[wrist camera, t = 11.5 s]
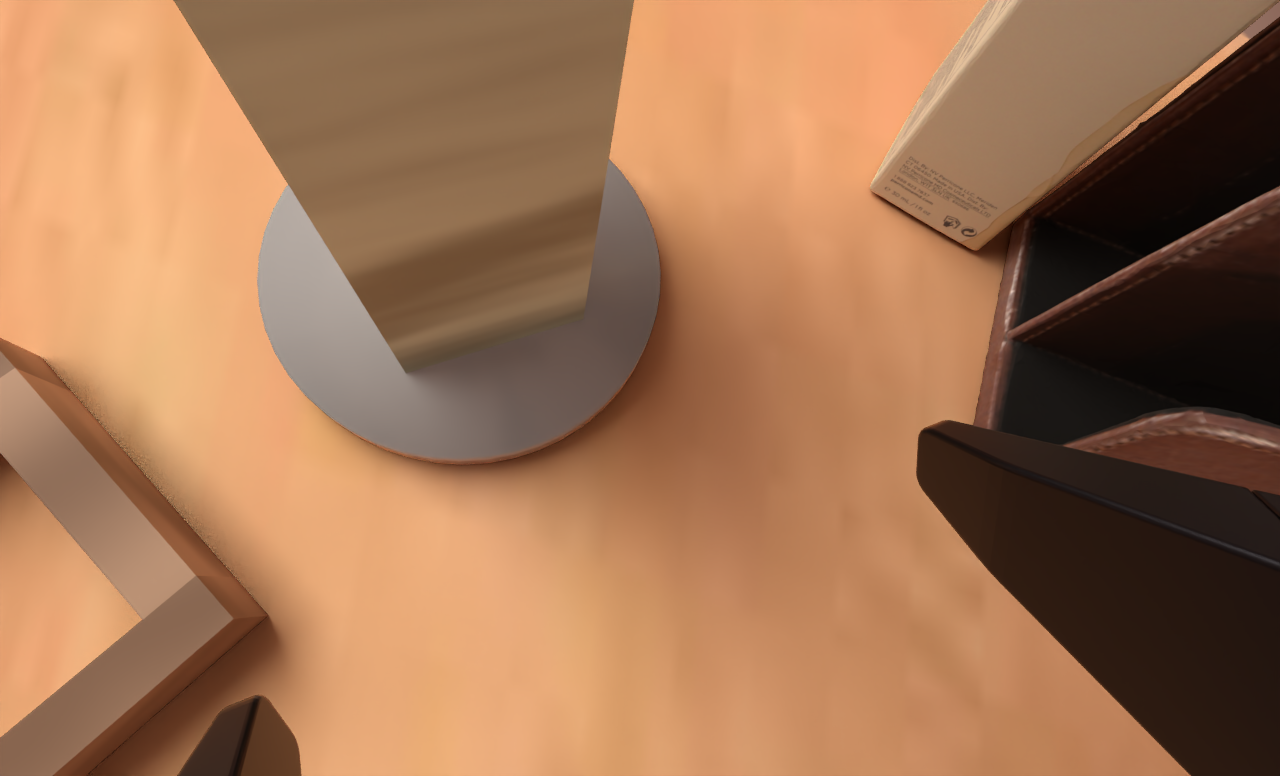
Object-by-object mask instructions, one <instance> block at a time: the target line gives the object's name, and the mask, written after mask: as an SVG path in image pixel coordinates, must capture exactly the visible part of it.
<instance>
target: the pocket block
mask: <svg viewBox="0 0 1280 776" xmlns="http://www.w3.org/2000/svg"><path fill="white" fill-rule="evenodd" d="M0 453H1V454H2V455H3V456H4V458H5V459H6V460H7V461H8V462H9V464H10V465H11V466H12V467H13V468H14V469H15V471H16V472H17V473H18V474H19V475H20V476H21V478H22V479H23V480H24V481H25V482H26V483H27V485H28V486H29V487H30V488H31V489H32V490H33V492H34V493H35V494H36V495H37V496H38V498H39V499H40V500H41V501H42V502H43V503H44V505H45V506H46V507H47V508H48V509H49V510H50V512H51V513H52V514H53V515H54V516H55V517H56V519H57V520H58V521H59V522H60V523H61V525H62V526H63V527H64V528H65V529H66V530H67V532H68V533H69V534H70V535H71V536H72V537H73V539H74V540H75V541H76V542H77V543H78V544H79V546H80V547H81V548H82V549H83V550H84V552H85V553H86V554H87V555H88V556H89V557H90V559H91V560H92V561H93V562H94V563H95V564H96V566H97V567H98V568H99V569H100V570H101V571H102V573H103V574H104V575H105V576H106V577H107V579H108V580H109V581H110V582H111V583H112V584H113V586H114V587H115V588H116V589H117V590H118V591H119V593H120V594H121V595H122V596H123V597H124V598H125V600H126V601H127V602H128V603H129V604H130V605H131V607H132V608H133V609H134V610H135V611H136V613H137V614H138V615H139V616H140V617H141V618H142V621H141V622H139V623H138V624H137V625H136V626H135V627H133V628H132V629H131V630H130V631H129V632H127V633H126V634H125V635H124V636H123V637H121V638H120V639H119V640H118V641H116V642H115V643H114V644H113V645H112V646H110V647H109V648H108V649H107V650H106V651H104V652H103V653H102V654H101V655H100V656H98V657H97V658H96V659H95V660H94V661H92V662H91V663H90V664H89V665H88V666H86V667H85V668H84V669H83V670H81V671H80V672H79V673H78V674H77V675H75V676H74V677H73V678H72V679H71V680H69V681H68V682H67V683H66V684H65V685H63V686H62V687H61V688H60V689H59V690H57V691H56V692H55V693H54V694H53V695H51V696H50V697H49V698H48V699H47V700H45V701H44V702H43V703H42V704H40V705H39V706H38V707H37V708H36V709H34V710H33V711H32V712H31V713H30V714H28V715H27V716H26V717H25V718H24V719H22V720H21V721H20V722H19V723H18V724H16V725H15V726H14V727H13V728H12V729H10V730H9V731H8V732H7V733H5V734H4V735H3V736H2V737H1V738H0V776H86V775H87V774H88V773H90V772H91V771H92V770H93V769H94V768H95V767H96V766H97V765H99V764H100V763H101V762H102V761H103V760H104V759H105V758H107V757H108V756H109V755H110V754H111V753H112V752H113V751H115V750H116V749H117V748H118V747H119V746H120V745H121V744H123V743H124V742H125V741H126V740H127V739H128V738H129V737H130V736H132V735H133V734H134V733H135V732H136V731H137V730H138V729H140V728H141V727H142V726H143V725H144V724H145V723H146V722H148V721H149V720H150V719H151V718H152V717H153V716H154V715H156V714H157V713H158V712H159V711H160V710H161V709H162V708H163V707H165V706H166V705H167V704H168V703H169V702H170V701H171V700H173V699H174V698H175V697H176V696H177V695H178V694H179V693H181V692H182V691H183V690H184V689H185V688H186V687H187V686H188V685H190V684H191V683H192V682H193V681H194V680H195V679H196V678H198V677H199V676H200V675H201V674H202V673H203V672H204V671H206V670H207V669H208V668H209V667H210V666H211V665H212V664H214V663H215V662H216V661H217V660H218V659H219V658H220V657H221V656H223V655H224V654H225V653H226V652H227V651H228V650H229V649H231V648H232V647H233V646H234V645H235V644H236V643H237V642H239V641H240V640H241V639H242V638H243V637H244V636H245V635H247V634H248V633H249V632H250V631H251V630H252V629H253V628H254V627H256V626H257V625H258V624H259V623H260V622H261V621H262V620H264V619H265V618H266V617H267V616H268V615H267V614H266V613H265V611H264V610H263V609H262V608H261V607H260V606H259V605H258V603H257V602H256V601H255V600H254V599H253V598H252V597H251V596H250V594H249V593H248V592H247V591H246V590H245V589H244V588H243V586H242V585H241V584H240V583H239V582H238V581H237V580H236V578H235V577H234V576H233V575H232V574H231V573H230V572H229V570H228V569H227V568H226V567H225V566H224V565H223V564H222V563H221V561H220V560H219V559H218V558H217V557H216V556H215V555H214V553H213V552H212V551H211V550H210V549H209V548H208V547H207V545H206V544H205V543H204V542H203V541H202V540H201V539H200V537H199V536H198V535H197V534H196V533H195V532H194V531H193V530H192V528H191V527H190V526H189V525H188V524H187V523H186V522H185V520H184V519H183V518H182V517H181V516H180V515H179V514H178V512H177V511H176V510H175V509H174V508H173V507H172V506H171V505H170V503H169V502H168V501H167V500H166V499H165V498H164V497H163V495H162V494H161V493H160V492H159V491H158V490H157V489H156V487H155V486H154V485H153V484H152V483H151V482H150V481H149V479H148V478H147V477H146V476H145V475H144V474H143V473H142V472H141V470H140V469H139V468H138V467H137V466H136V465H135V464H134V462H133V461H132V460H131V459H130V458H129V457H128V456H127V454H126V453H125V452H124V451H123V450H122V449H121V448H120V447H119V445H118V444H117V443H116V442H115V441H114V440H113V439H112V437H111V436H110V435H109V434H108V433H107V432H106V431H105V429H104V428H103V427H102V426H101V425H100V424H99V423H98V421H97V420H96V419H95V418H94V417H93V416H92V415H91V414H90V412H89V411H88V410H87V409H86V408H85V407H84V406H83V404H82V403H81V402H80V401H79V400H78V399H77V398H76V396H75V395H74V394H73V393H72V392H71V391H70V390H69V388H68V387H67V386H66V385H65V384H64V383H63V382H62V381H61V379H60V378H59V377H58V376H57V375H56V374H55V373H54V371H53V370H52V369H51V368H50V367H49V366H48V365H47V363H46V362H45V361H44V360H43V359H42V358H41V357H40V356H38V355H36V354H34V353H31V352H29V351H27V350H25V349H23V348H21V347H19V346H16V345H14V344H12V343H10V342H8V341H6V340H4V339H1V338H0Z"/></svg>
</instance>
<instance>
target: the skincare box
mask: <svg viewBox="0 0 1280 776" xmlns="http://www.w3.org/2000/svg"><path fill="white" fill-rule="evenodd" d="M1279 1H1280V0H988V1H987V2H986V4H985V5H984V7H983V8H982V9H981V11H980V12H979V13H978V15H977V16H976V17H975V19H974V20H973V22H972V23H971V24H970V26H969V27H968V28H967V30H966V31H965V33H964V34H963V35H962V37H961V38H960V39H959V41H958V42H957V44H956V45H955V46H954V48H953V49H952V50H951V52H950V53H949V54H948V56H947V57H946V59H945V60H944V61H943V63H942V64H941V65H940V67H939V68H938V69H937V71H936V72H935V74H934V75H933V76H932V78H931V80H930V82H929V83H928V85H927V86H926V88H925V89H924V91H923V93H922V94H921V96H920V98H919V99H918V101H917V102H916V104H915V106H914V108H913V109H912V111H911V113H910V114H909V116H908V118H907V119H906V121H905V123H904V124H903V126H902V128H901V130H900V132H899V133H898V135H897V137H896V139H895V140H894V142H893V144H892V146H891V147H890V149H889V151H888V153H887V155H886V156H885V158H884V160H883V162H882V164H881V166H880V168H879V170H878V171H877V173H876V175H875V177H874V179H873V181H872V183H871V185H870V189H871V191H872V192H874V193H875V194H877V195H879V196H881V197H883V198H884V199H886V200H887V201H889V202H891V203H892V204H894V205H896V206H897V207H899V208H901V209H902V210H904V211H906V212H907V213H909V214H911V215H912V216H914V217H916V218H917V219H919V220H921V221H923V222H924V223H926V224H928V225H929V226H931V227H933V228H934V229H936V230H938V231H940V232H942V233H943V234H945V235H947V236H948V237H950V238H952V239H954V240H956V241H957V242H959V243H961V244H963V245H965V246H966V247H968V248H970V249H972V250H979V249H980V248H982V247H983V246H984V245H985V244H986V243H988V242H989V241H990V240H991V239H992V238H994V237H995V236H996V235H997V234H998V233H1000V232H1001V231H1002V230H1003V229H1004V228H1006V227H1007V226H1008V225H1009V224H1011V223H1012V222H1013V221H1014V220H1015V219H1016V218H1018V217H1019V216H1020V215H1021V214H1022V213H1024V212H1025V211H1026V210H1027V209H1029V208H1030V207H1031V206H1032V205H1033V204H1035V203H1036V202H1037V201H1038V200H1039V199H1041V198H1042V197H1043V196H1044V195H1046V194H1047V193H1048V192H1049V191H1050V190H1052V189H1053V188H1054V187H1055V186H1056V185H1058V184H1059V183H1060V182H1061V181H1062V180H1064V179H1065V178H1066V177H1067V176H1068V175H1070V174H1071V173H1072V172H1073V171H1074V170H1076V169H1077V168H1078V167H1079V166H1080V165H1082V164H1083V163H1084V162H1085V161H1086V160H1088V159H1089V158H1090V157H1091V156H1092V155H1094V154H1095V153H1096V152H1097V151H1099V150H1100V149H1101V148H1102V147H1103V146H1105V145H1106V144H1107V143H1108V142H1109V141H1111V140H1112V139H1113V138H1114V137H1115V136H1117V135H1118V134H1119V133H1120V132H1121V131H1123V130H1124V129H1125V128H1126V127H1128V126H1129V125H1130V124H1131V123H1132V122H1134V121H1135V120H1136V119H1137V118H1138V117H1140V116H1141V115H1142V114H1143V113H1145V112H1146V111H1147V110H1148V109H1149V108H1151V107H1152V106H1153V105H1154V104H1155V103H1157V102H1158V101H1159V100H1160V99H1161V98H1163V97H1164V96H1165V95H1166V94H1167V93H1169V92H1170V91H1171V90H1172V89H1173V88H1175V87H1176V86H1177V85H1178V84H1179V83H1181V82H1182V81H1183V80H1184V79H1186V78H1187V77H1188V76H1189V75H1191V74H1192V73H1193V72H1194V71H1195V70H1197V69H1198V68H1199V67H1200V66H1202V65H1203V64H1204V63H1205V62H1206V61H1208V60H1209V59H1210V58H1211V57H1213V56H1214V55H1215V54H1216V53H1218V52H1219V51H1220V50H1221V49H1222V48H1224V47H1225V46H1226V45H1227V44H1229V43H1230V42H1231V41H1232V40H1233V39H1235V38H1236V37H1237V36H1238V35H1239V34H1241V33H1242V32H1243V31H1244V30H1245V29H1247V28H1248V27H1249V26H1250V25H1251V24H1253V23H1254V22H1255V21H1256V20H1257V19H1259V18H1260V17H1261V16H1262V15H1263V14H1265V13H1266V12H1267V11H1268V10H1269V9H1271V8H1272V7H1273V6H1274V5H1276V4H1277V3H1278V2H1279Z"/></svg>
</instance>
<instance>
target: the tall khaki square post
mask: <svg viewBox="0 0 1280 776" xmlns="http://www.w3.org/2000/svg"><path fill="white" fill-rule="evenodd" d="M174 2H175V3H176V5H177V6H178V8H179V10H180V11H181V13H182V14H183V16H184V18H185V19H186V21H187V22H188V24H189V26H190V27H191V29H192V31H193V32H194V34H195V35H196V37H197V39H198V40H199V42H200V43H201V45H202V47H203V48H204V50H205V51H206V53H207V55H208V56H209V58H210V59H211V61H212V63H213V64H214V66H215V67H216V69H217V71H218V72H219V74H220V76H221V77H222V79H223V80H224V82H225V84H226V85H227V87H228V88H229V90H230V92H231V93H232V95H233V96H234V98H235V100H236V101H237V103H238V104H239V106H240V108H241V109H242V111H243V113H244V114H245V116H246V117H247V119H248V121H249V122H250V124H251V125H252V127H253V129H254V130H255V132H256V133H257V135H258V137H259V138H260V140H261V141H262V143H263V145H264V146H265V148H266V150H267V151H268V153H269V154H270V156H271V158H272V159H273V161H274V162H275V164H276V166H277V167H278V169H279V170H280V172H281V174H282V175H283V177H284V178H285V180H286V182H287V183H288V185H289V186H290V188H291V190H292V191H293V193H294V195H295V196H296V198H297V199H298V201H299V203H300V204H301V206H302V207H303V209H304V211H305V212H306V214H307V215H308V217H309V219H310V220H311V222H312V223H313V225H314V227H315V228H316V230H317V232H318V233H319V235H320V236H321V238H322V240H323V241H324V243H325V244H326V246H327V248H328V249H329V251H330V252H331V254H332V256H333V257H334V259H335V260H336V262H337V264H338V265H339V267H340V269H341V270H342V272H343V273H344V275H345V277H346V278H347V280H348V281H349V283H350V285H351V286H352V288H353V289H354V291H355V293H356V294H357V296H358V297H359V299H360V301H361V302H362V304H363V306H364V307H365V309H366V310H367V312H368V314H369V315H370V317H371V318H372V320H373V322H374V323H375V325H376V326H377V328H378V330H379V331H380V333H381V334H382V336H383V338H384V339H385V341H386V342H387V344H388V346H389V347H390V349H391V351H392V352H393V354H394V355H395V357H396V359H397V360H398V362H399V363H400V365H401V367H402V368H403V370H404V371H405V373H408V372H412V371H415V370H418V369H421V368H425V367H428V366H431V365H434V364H438V363H441V362H444V361H448V360H451V359H454V358H457V357H461V356H464V355H467V354H470V353H474V352H477V351H480V350H484V349H487V348H490V347H493V346H497V345H500V344H503V343H506V342H510V341H513V340H516V339H520V338H523V337H526V336H529V335H533V334H536V333H539V332H542V331H546V330H549V329H552V328H556V327H559V326H562V325H565V324H569V323H572V322H575V321H578V320H582V319H583V318H584V312H585V306H586V299H587V293H588V287H589V280H590V274H591V268H592V261H593V255H594V249H595V242H596V236H597V230H598V224H599V217H600V211H601V205H602V198H603V192H604V186H605V179H606V173H607V167H608V161H609V154H610V148H611V142H612V135H613V129H614V123H615V116H616V110H617V104H618V98H619V91H620V85H621V79H622V72H623V66H624V60H625V53H626V47H627V41H628V34H629V28H630V22H631V16H632V9H633V3H634V0H174Z"/></svg>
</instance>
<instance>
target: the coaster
mask: <svg viewBox="0 0 1280 776" xmlns="http://www.w3.org/2000/svg"><path fill="white" fill-rule="evenodd" d="M660 276H661V272H660V262H659V253H658V247H657V243H656V239H655V235H654V231H653V228H652V225H651V223H650V220H649V218H648V215H647V213H646V210H645V208H644V206H643V204H642V203H641V201H640V199H639V197H638V195H637V194H636V192H635V190H634V188H633V187H632V186H631V184H630V183H629V182H628V180H627V179H626V178H625V176H624V175H623V174H622V172H621V171H620V170H619V169H618V168H617V167H616V166H615V165H614V164H613V163H612V162H611V161H610V160H609V161H608V167H607V173H606V179H605V186H604V192H603V198H602V205H601V211H600V217H599V224H598V230H597V236H596V242H595V249H594V255H593V261H592V268H591V274H590V280H589V287H588V293H587V299H586V306H585V312H584V318H583V319H582V320H578V321H575V322H572V323H569V324H565V325H562V326H559V327H556V328H552V329H549V330H546V331H542V332H539V333H536V334H533V335H529V336H526V337H523V338H520V339H516V340H513V341H510V342H506V343H503V344H500V345H497V346H493V347H490V348H487V349H484V350H480V351H477V352H474V353H470V354H467V355H464V356H461V357H457V358H454V359H451V360H448V361H444V362H441V363H438V364H434V365H431V366H428V367H425V368H421V369H418V370H415V371H412V372H408V373H405V371H404V370H403V368H402V367H401V365H400V363H399V362H398V360H397V359H396V357H395V355H394V354H393V352H392V351H391V349H390V347H389V346H388V344H387V342H386V341H385V339H384V338H383V336H382V334H381V333H380V331H379V330H378V328H377V326H376V325H375V323H374V322H373V320H372V318H371V317H370V315H369V314H368V312H367V310H366V309H365V307H364V306H363V304H362V302H361V301H360V299H359V297H358V296H357V294H356V293H355V291H354V289H353V288H352V286H351V285H350V283H349V281H348V280H347V278H346V277H345V275H344V273H343V272H342V270H341V269H340V267H339V265H338V264H337V262H336V260H335V259H334V257H333V256H332V254H331V252H330V251H329V249H328V248H327V246H326V244H325V243H324V241H323V240H322V238H321V236H320V235H319V233H318V232H317V230H316V228H315V227H314V225H313V223H312V222H311V220H310V219H309V217H308V215H307V214H306V212H305V211H304V209H303V207H302V206H301V204H300V203H299V201H298V199H297V198H296V196H295V195H294V193H293V191H292V190H291V188H290V186H289V185H287V187H286V188H285V190H284V191H283V193H282V195H281V197H280V199H279V200H278V202H277V204H276V206H275V207H274V209H273V211H272V214H271V217H270V219H269V222H268V224H267V227H266V230H265V232H264V236H263V241H262V245H261V250H260V254H259V263H258V278H257V283H258V295H259V306H260V310H261V314H262V318H263V322H264V326H265V330H266V332H267V335H268V337H269V340H270V342H271V344H272V347H273V349H274V352H275V354H276V355H277V357H278V359H279V360H280V362H281V364H282V365H283V367H284V368H285V370H286V372H287V373H288V375H289V376H290V378H291V379H292V380H293V381H294V382H295V384H296V385H297V386H298V387H299V388H300V390H301V391H302V392H303V393H304V394H305V396H307V397H308V398H309V399H310V400H311V401H312V402H313V403H314V404H315V405H317V406H318V407H319V408H320V409H321V410H322V411H323V412H324V413H325V414H327V415H328V416H329V417H330V418H332V419H333V420H334V421H335V422H336V423H338V424H339V425H341V426H342V427H344V428H345V429H347V430H348V431H350V432H351V433H353V434H354V435H356V436H357V437H359V438H361V439H363V440H365V441H367V442H369V443H371V444H373V445H375V446H377V447H379V448H381V449H383V450H386V451H389V452H392V453H395V454H398V455H401V456H404V457H407V458H412V459H417V460H422V461H427V462H432V463H443V464H458V465H466V464H482V463H492V462H497V461H502V460H508V459H513V458H517V457H520V456H523V455H526V454H529V453H532V452H535V451H539V450H541V449H543V448H545V447H548V446H550V445H552V444H554V443H556V442H558V441H560V440H562V439H564V438H566V437H567V436H569V435H570V434H572V433H574V432H575V431H577V430H578V429H580V428H581V427H583V426H585V425H586V424H587V423H588V422H589V421H591V420H592V419H593V418H594V417H595V416H596V415H598V414H599V413H600V412H601V411H602V410H604V409H605V407H606V406H607V405H608V404H609V403H610V402H611V401H612V400H613V399H614V397H615V396H616V395H617V394H618V393H619V392H620V391H621V389H622V388H623V386H624V385H625V383H626V382H627V380H628V379H629V377H630V376H631V375H632V373H633V371H634V369H635V367H636V365H637V363H638V361H639V359H640V357H641V355H642V353H643V351H644V349H645V347H646V344H647V342H648V340H649V337H650V334H651V331H652V328H653V324H654V321H655V318H656V314H657V308H658V302H659V297H660Z"/></svg>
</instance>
